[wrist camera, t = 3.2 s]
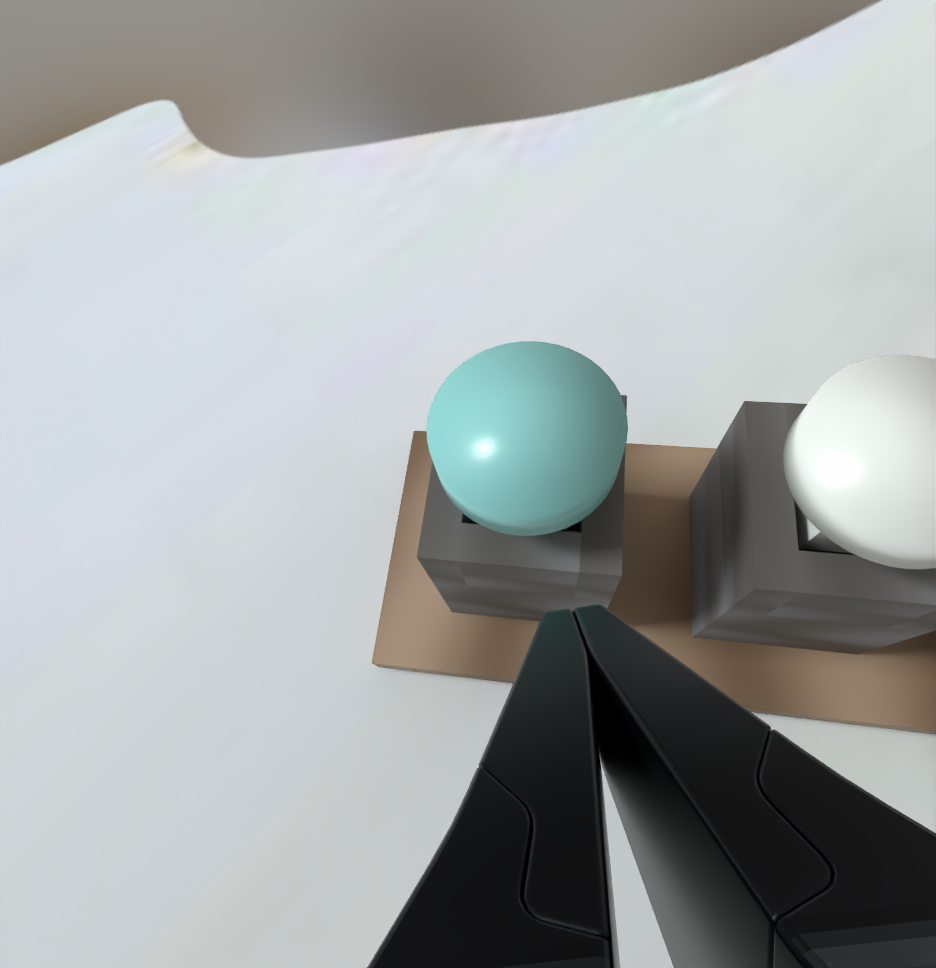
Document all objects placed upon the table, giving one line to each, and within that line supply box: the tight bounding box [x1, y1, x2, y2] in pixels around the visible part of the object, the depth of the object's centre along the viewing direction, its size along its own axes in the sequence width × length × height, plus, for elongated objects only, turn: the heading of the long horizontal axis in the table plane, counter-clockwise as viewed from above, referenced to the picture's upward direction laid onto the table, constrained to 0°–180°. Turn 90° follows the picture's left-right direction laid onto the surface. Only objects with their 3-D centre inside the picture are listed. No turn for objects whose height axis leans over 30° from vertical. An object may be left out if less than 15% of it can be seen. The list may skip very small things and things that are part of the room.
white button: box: [783, 355, 936, 569], centre depth 14 cm, size 4×4×4 cm
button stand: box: [372, 395, 936, 734], centre depth 18 cm, size 26×9×8 cm, turn 83°
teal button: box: [427, 341, 628, 536], centre depth 15 cm, size 4×4×4 cm
